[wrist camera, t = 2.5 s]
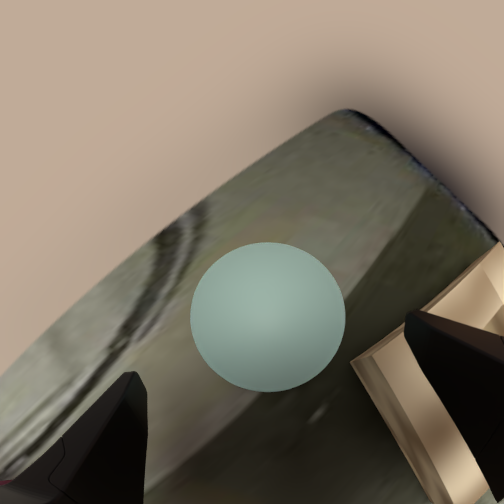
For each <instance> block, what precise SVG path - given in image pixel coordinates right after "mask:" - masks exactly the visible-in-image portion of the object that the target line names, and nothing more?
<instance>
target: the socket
mask: <svg viewBox="0 0 504 504" xmlns="http://www.w3.org/2000/svg"><path fill="white" fill-rule="evenodd" d="M420 310H421V311H425V312H428V313H431V314H434V315H437V316H440V317H444V318H447V319H450V320H453V321H456V322H460V323H463V324H466V325H469V326H472V327H476V328H479V329H482V330H485V331H488V332H492V333H495V334H498V335H499V336H500V335H501V336H504V248H503V246H502V245H501V243H500V242H498V243H497V244H496V245H495V246H493V247H492V248H491V249H490V250H489V251H487V252H486V253H485V254H483V255H482V256H481V257H480V258H478V259H477V260H476V261H474V262H473V263H472V264H471V265H470V266H469V267H467V268H466V269H465V270H464V271H463V272H462V273H461V274H460V275H459V276H458V277H457V278H456V279H455V280H454V281H453V282H452V283H450V284H449V285H448V286H447V287H446V288H445V289H444V290H443V291H442V292H440V293H439V294H438V295H437V296H436V297H435V298H433V299H432V300H431V301H430V302H429V303H428V304H426V305H425V306H424V307H423V308H422V309H420ZM404 325H405V322H404V323H403V324H402V325H400V326H399V327H398V328H397V329H395V330H394V331H393V332H391V333H390V334H389V335H387V336H386V337H385V338H383V339H382V340H381V341H379V342H378V343H376V344H375V345H374V346H372V347H371V348H369V349H368V350H367V351H365V352H364V353H362V354H361V355H359V356H358V357H356V358H355V359H354V360H352V361H351V362H350V364H351V365H352V367H353V369H354V370H355V372H356V374H357V375H358V377H359V379H360V380H361V382H362V384H363V385H364V387H365V389H366V390H367V392H368V394H369V395H370V397H371V399H372V400H373V402H374V404H375V406H376V407H377V409H378V411H379V412H380V414H381V416H382V417H383V419H384V421H385V423H386V424H387V426H388V428H389V429H390V431H391V433H392V435H393V436H394V438H395V440H396V441H397V443H398V445H399V447H400V448H401V450H402V452H403V454H404V455H405V457H406V459H407V461H408V462H409V464H410V466H411V468H412V470H413V471H414V473H415V475H416V477H417V478H418V480H419V482H420V484H421V486H422V487H423V489H424V491H425V493H426V495H427V497H428V498H429V500H430V502H432V503H434V504H474V503H475V502H476V501H477V500H478V499H479V498H480V497H481V496H482V495H483V494H484V493H485V492H486V491H487V490H488V489H489V488H490V487H489V486H488V484H487V482H486V480H485V478H484V476H483V474H482V472H481V470H480V468H479V466H478V464H477V463H476V461H475V458H474V457H473V455H472V453H471V451H470V450H469V448H468V446H467V444H466V442H465V441H464V439H463V437H462V435H461V434H460V432H459V430H458V429H457V427H456V425H455V423H454V422H453V420H452V418H451V417H450V415H449V413H448V412H447V410H446V409H445V407H444V405H443V404H442V402H441V400H440V399H439V397H438V396H437V394H436V392H435V391H434V389H433V388H432V386H431V385H430V383H429V382H428V380H427V378H426V377H425V375H424V374H423V372H422V370H421V369H420V367H419V365H418V363H417V361H416V359H415V357H414V355H413V353H412V351H411V349H410V347H409V345H408V343H407V342H406V340H405V337H404Z"/></svg>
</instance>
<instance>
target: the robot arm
mask: <svg viewBox="0 0 504 504" xmlns="http://www.w3.org/2000/svg"><path fill="white" fill-rule="evenodd" d="M404 337H405V340H406V342H407V343H408V345H409V347H410V349H411V351H412V353H413V355H414V357H415V359H416V361H417V363H418V365H419V367H420V369H421V370H422V372H423V374H424V375H425V377H426V378H427V380H428V382H429V383H430V385H431V386H432V388H433V389H434V391H435V392H436V394H437V396H438V397H439V399H440V400H441V402H442V404H443V405H444V407H445V409H446V410H447V412H448V413H449V415H450V417H451V418H452V420H453V422H454V423H455V425H456V427H457V429H458V430H459V432H460V434H461V435H462V437H463V439H464V441H465V442H466V444H467V446H468V448H469V450H470V451H471V453H472V455H473V457H474V458H475V461H476V463H477V464H478V466H479V468H480V470H481V472H482V474H483V476H484V478H485V480H486V482H487V484H488V486H489V487H490V489H491V491H492V494H493V496H494V498H495V500H496V501H497V503H498V502H500V501H501V500H502V499H503V498H504V336H501V335H500V336H499V335H498V334H495V333H492V332H488V331H485V330H482V329H479V328H476V327H472V326H469V325H466V324H463V323H460V322H456V321H453V320H450V319H447V318H444V317H440V316H437V315H434V314H431V313H428V312H425V311H421V310H418V309H416V310H413V311H410V312H408V313H407V314H406V317H405V325H404ZM147 438H148V418H147V391H146V388H145V386H144V384H143V382H142V380H141V379H140V377H139V375H138V373H137V372H135V371H131V372H124V373H123V374H122V375H121V376H120V377H119V378H118V379H117V380H116V381H115V382H114V383H113V384H112V385H111V386H110V387H109V388H108V389H107V390H106V391H105V392H104V393H103V394H102V395H101V396H100V397H99V398H98V399H97V401H96V402H95V403H94V404H93V405H92V406H91V407H90V408H89V409H88V410H87V411H86V412H85V413H84V414H83V415H82V416H81V417H80V418H79V419H78V420H77V421H76V422H75V423H74V424H73V425H72V426H71V427H70V428H69V429H68V430H67V431H66V432H65V433H64V434H63V435H62V437H60V438H59V439H58V440H57V441H56V442H55V443H54V444H53V445H52V446H51V447H50V448H49V449H48V450H47V451H46V452H45V453H44V454H43V455H42V456H41V457H40V458H38V459H37V460H36V461H35V462H34V463H33V464H31V465H30V466H29V467H28V468H27V469H26V470H24V471H23V472H22V473H21V474H20V475H18V476H17V477H16V478H15V479H13V480H12V481H11V482H9V483H7V484H4V485H0V504H143V498H144V478H145V463H146V450H147Z"/></svg>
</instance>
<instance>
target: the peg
mask: <svg viewBox="0 0 504 504" xmlns="http://www.w3.org/2000/svg"><path fill="white" fill-rule="evenodd" d="M190 322H191V330H192V334H193V338H194V341H195V344H196V346H197V348H198V351H199V352H200V354H201V356H202V357H203V359H204V360H205V361H206V363H207V364H208V365H209V366H210V367H211V368H212V369H213V370H214V371H215V372H216V373H217V374H218V375H219V376H221V377H222V378H224V379H225V380H227V381H228V382H230V383H232V384H234V385H236V386H239V387H242V388H245V389H248V390H253V391H260V392H276V391H282V390H287V389H291V388H294V387H297V386H299V385H301V384H303V383H305V382H307V381H309V380H310V379H312V378H313V377H315V376H316V375H318V374H319V373H320V372H321V371H322V370H323V369H324V368H325V367H326V366H327V365H328V363H329V362H330V361H331V360H332V358H333V357H334V355H335V353H336V352H337V350H338V347H339V345H340V343H341V340H342V337H343V333H344V327H345V307H344V301H343V298H342V294H341V291H340V289H339V287H338V284H337V283H336V281H335V279H334V278H333V276H332V275H331V273H330V272H329V271H328V269H327V268H326V267H325V266H324V265H323V264H322V263H321V262H319V261H318V260H317V259H316V258H314V257H313V256H312V255H310V254H308V253H307V252H305V251H303V250H300V249H298V248H296V247H293V246H290V245H286V244H280V243H270V242H267V243H256V244H250V245H246V246H243V247H240V248H238V249H235V250H233V251H231V252H229V253H228V254H226V255H224V256H223V257H221V258H220V259H219V260H217V261H216V262H215V263H214V264H213V265H212V266H211V267H210V268H209V269H208V270H207V272H206V273H205V274H204V275H203V277H202V279H201V280H200V282H199V284H198V286H197V288H196V291H195V293H194V297H193V300H192V305H191V315H190Z"/></svg>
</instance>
